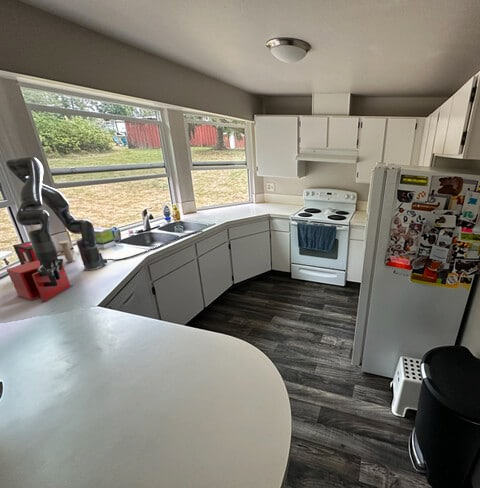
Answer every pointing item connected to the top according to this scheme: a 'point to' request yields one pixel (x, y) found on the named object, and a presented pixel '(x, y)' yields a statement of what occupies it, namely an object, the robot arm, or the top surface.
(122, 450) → the top surface
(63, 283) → the red cabinet door
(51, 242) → the robot arm
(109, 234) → the tea box
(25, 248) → the cleaning product box
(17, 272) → the cabinet
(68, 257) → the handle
